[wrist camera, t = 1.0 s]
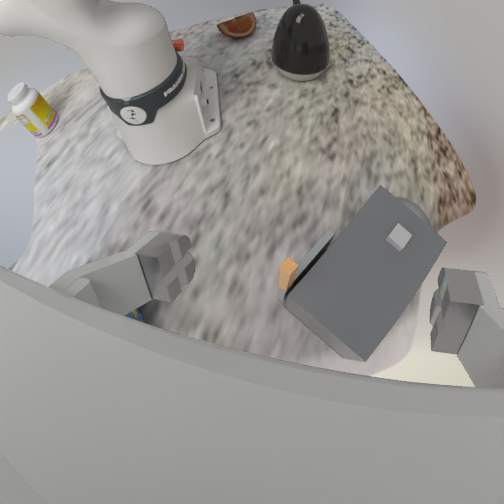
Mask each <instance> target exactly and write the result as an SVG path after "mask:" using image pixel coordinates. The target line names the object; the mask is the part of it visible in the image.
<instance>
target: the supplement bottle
mask: <svg viewBox="0 0 504 504" xmlns="http://www.w3.org/2000/svg"><path fill="white" fill-rule="evenodd" d="M7 100H8V101H9V103H10V104H13V105H12V113H13V114H14V115H15V116H16V117H17V118H18V119H19V120H20V121H21V123H22V124H23V125H24V126H25V127H26V128H27V129H28V130H29V131H30V132H31V133H32V134H33V135H34V136H36V137H38V138H41V137H44V136H45V135H47V134H48V133H50V132H51V131H52V129H53V128H54V127H55V125H56V123H57V119H58V117H57V114H56V113H55V112H54V110H53V109H52V108H51V107H50V105H49V104H48V103H47V102H46V101H45V99H44V98H43V97H42V96H41V95H40V93H39V92H38V91H37V90H36V89H35V88H27V85H26V84H25V83H24V82H21V83H19V84H17V85H16V86H15V87H14V88H13V89H12V90H11V91H10V92H9V94H8V96H7Z"/></svg>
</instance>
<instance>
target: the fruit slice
mask: <svg viewBox="0 0 504 504" xmlns="http://www.w3.org/2000/svg"><path fill="white" fill-rule="evenodd" d="M217 27H218V29H219V31H221V32H222V33H223V34H224V35H226V36H229V37H233V38H241V37H245V36H248V35H249V34H251V33H252V32H253V30H254V29H255V27H256V18H255V15H254V14H253V12H252V13H248V14H246V15H242V16H239V17H235V18H234V19H232V20H229V21H226V22H223V23H220V24H218V25H217Z"/></svg>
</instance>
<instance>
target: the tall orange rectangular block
mask: <svg viewBox="0 0 504 504" xmlns="http://www.w3.org/2000/svg"><path fill="white" fill-rule="evenodd" d="M334 234H335V232H333V231H332V230H331V229H330V228H329V229H328V230H327V231H326V232H325V234H324V235H323V236H322V237H321V238H320V239H319V241H318V242H317V243H316V244H315V245H314V246H313V247H312V249H311V250H310V251H309V252H308V253H307V254H306V255H305V257H304V258H303V259H302V260H301V261H300V262H299V263H298V264H297V263H296V262H294V261H293V260H292V259H291V258H290V257H288V258H287V259H286V260H285V261H284V262H283V263H282V264H281V265H280V270H279V283H278V286H279V292H278V299H279V300H280V301H281V302H282V303H283V302H284V301H285V300H286V299H287V297H288V295H289V293H290V292H291V291H292V290H293V288H294V287H295V286H296V285H297V284H298V283H299V282H300V281H301V279H302V278H303V277H304V276H305V275H306V274H307V272H308V271H309V270H310V269H311V268H312V267H313V266H314V264H315V263H316V262H317V261H318V260H319V259H320V257H321V256H322V255H323V254H324V253H325V252H326V250H327V248H328V246H329V244H330V242H331V240H332V238H333V236H334Z"/></svg>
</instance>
